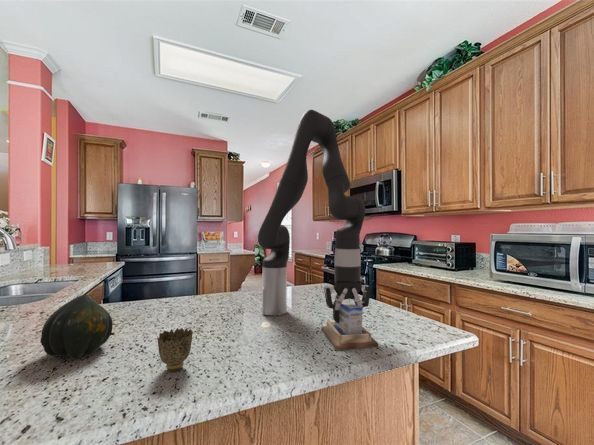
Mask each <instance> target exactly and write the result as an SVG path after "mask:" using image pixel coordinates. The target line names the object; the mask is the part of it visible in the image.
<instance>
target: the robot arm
mask: <svg viewBox="0 0 594 445" xmlns="http://www.w3.org/2000/svg"><path fill="white" fill-rule="evenodd" d="M298 122H299V123H298V124H297V128H296V132H295V134H294V139H293V143H292V147H291V149H290V150H291V151H290V154H289V156H288V159H287V162H286V165H285V168H284V171H283V172H282V175H281V178H280V180H279V183H278V186H277V189H276V193H275V194H274V197H273V200H272V202H271V204H270V207H269V209H268V211H267V214H266V216H265V218H264V220H263V222H262V223H261V225H260V227H259V230H258V233H257V234H258V235H257V242H258V245H259V246H260V247H261V249H265V250H270V252H269V254H268V255H267V256H266V257H264V258H263V259H262V265H261V266H262V274H261V275H262V276H261V277H262V279H261V280H262V282H261V284H262V286H261V312H262V315H263V316H281V315H284V314H286V313H287V311H288V310H287V308H288V304H287V300H288V298H287V296H288V293H287V292H288V291H287V290H288V286H287V284H288V282H287V281H288V280H287V279H288V277H287V276H288V275H287V274H288V272H287V271H288V260H289V259H290V258H289V257H290V242H291V241H290V240H291V237H290V231H289V229H288V227H287V226H286V225H283V224H282V223H283V221H284V219H285V217H286V216H287V215H288V213H289V212H291V210H292V209H293V208H294V207H295V206H297V204H298V203H299V201H301V198H302V197H303V194H304V192H305V189H306V186H307V184H308V180H309V178H308V177H309V173H308V171H309V170H308V164H307V157H308V151H309V148H310V145H311V142H313V143H316V144H318V146H319V147H320V150H321V151H322V154H323V159H322V164H321V172H322V176H323V179H324V182H325V185H326V188H327V194H328V195H327V196H328V210H329V213H330V214H331V215H332V217H333V218H334V219H336V220H339V221H345V223H344V227H342V228H338V229H336V231H335V238H334V239H335V247H334V248H335V250H334V282H333V285H330V286H324V287H323V290H324V291H323V292H324V297H325V303H326V304H325V306H327V307H328V308H329V309H332V319H333V321H335V322H336V323H339V310H338V309H339V307H340V305H341V303H342V302H343V301H347V300H352V301H353V303H354V304H355V305H357V306H360V307H362V308H365V307H366V308H367V307H369V305H370V298H371V290H372V287H371V286H370V285H368V284H362V282H361V280H362V278H361V272H362V271H361V267H362V266H361V264H362V260H361V258H362V257H361V250H360V247H361V246H360V243H361V242H360V239H361V238H360V234H361V232H362V228H363V223H364V219H365V216H366V207H365V203H364V200H362V198H361V197H358V196H350V195H345V193H347V192H348V191H349V190H350V188H351V180H350V179H349V178H350V177H349V176H348V175H349V174H348V173H347V171H346V169H345V166H344V163H343V161H342V157H341V153H340V149H339V144H338V139H337V133H336V129H335V125H334V122H333V120H332V119H331V118H330V117H328V116H327V115H324V114H322V113H320V112H318V111H316V110H314V109H308V110H306V111H305V112H304V113H303V114H302V116H301V117H300V120H299V121H298ZM334 291H335V293H336V294H335V296H334V300H333V299H332V294H333V292H334ZM360 292H362V297H361V298H360V296H359V293H360Z"/></svg>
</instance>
